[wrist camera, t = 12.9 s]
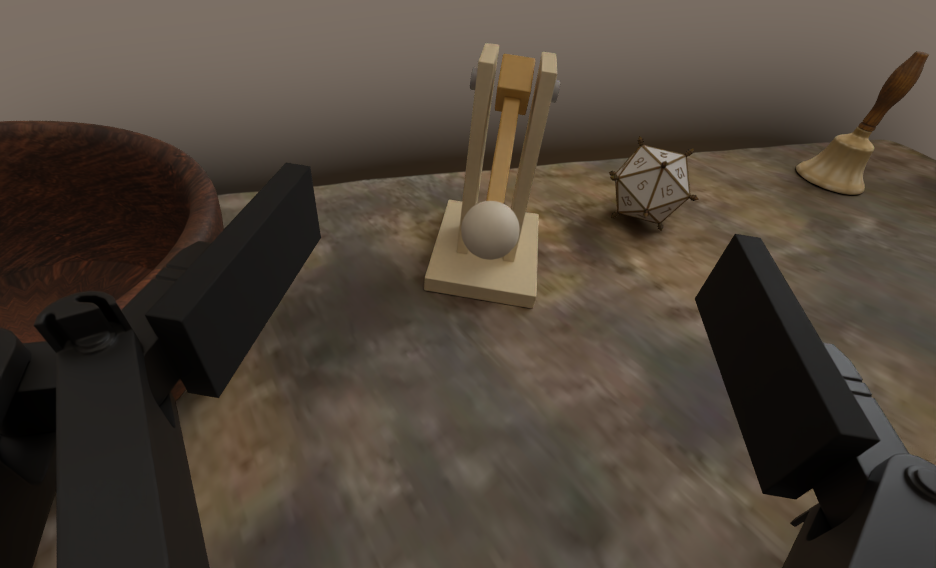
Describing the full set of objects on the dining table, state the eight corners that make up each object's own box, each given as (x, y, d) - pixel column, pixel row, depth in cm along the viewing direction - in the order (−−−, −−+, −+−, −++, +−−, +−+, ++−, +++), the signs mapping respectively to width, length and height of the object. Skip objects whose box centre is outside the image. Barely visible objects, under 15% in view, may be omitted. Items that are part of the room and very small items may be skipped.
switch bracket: (532, 309, 36) (594, 100, 25) (423, 290, 37) (435, 75, 25) (535, 225, 45) (581, 43, 34) (447, 211, 46) (464, 25, 34)
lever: (511, 271, 29) (519, 251, 25) (456, 262, 29) (456, 241, 26) (538, 90, 33) (548, 52, 30) (490, 83, 33) (493, 44, 30)
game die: (607, 238, 52) (585, 152, 49) (679, 215, 51) (660, 127, 49) (639, 251, 43) (614, 146, 41) (726, 222, 42) (705, 115, 40)
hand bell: (821, 162, 65) (905, 41, 55) (876, 191, 60) (981, 64, 49) (782, 166, 62) (862, 41, 52) (836, 198, 57) (937, 65, 46)
